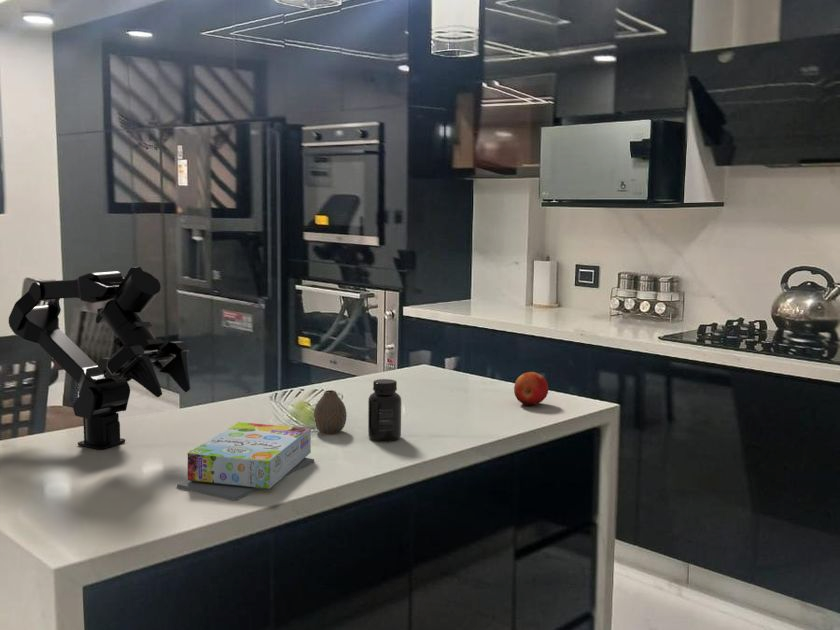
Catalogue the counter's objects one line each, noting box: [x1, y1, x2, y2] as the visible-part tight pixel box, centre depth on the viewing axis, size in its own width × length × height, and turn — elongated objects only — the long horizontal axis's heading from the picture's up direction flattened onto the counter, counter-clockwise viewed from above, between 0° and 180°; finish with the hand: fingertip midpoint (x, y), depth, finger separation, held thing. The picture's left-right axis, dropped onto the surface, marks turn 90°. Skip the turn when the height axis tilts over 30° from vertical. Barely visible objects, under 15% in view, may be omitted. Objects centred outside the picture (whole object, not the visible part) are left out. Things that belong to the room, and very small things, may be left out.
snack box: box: [187, 421, 312, 490], centre depth 151 cm, size 21×6×15 cm
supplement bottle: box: [367, 378, 402, 443], centre depth 174 cm, size 7×7×12 cm
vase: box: [313, 390, 348, 435], centre depth 178 cm, size 7×7×9 cm
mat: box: [176, 457, 315, 501], centre depth 150 cm, size 12×23×1 cm, turn 154°
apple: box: [513, 371, 549, 406], centre depth 205 cm, size 8×8×8 cm
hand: (174, 393), depth 156 cm, fingers open, 9 cm apart
